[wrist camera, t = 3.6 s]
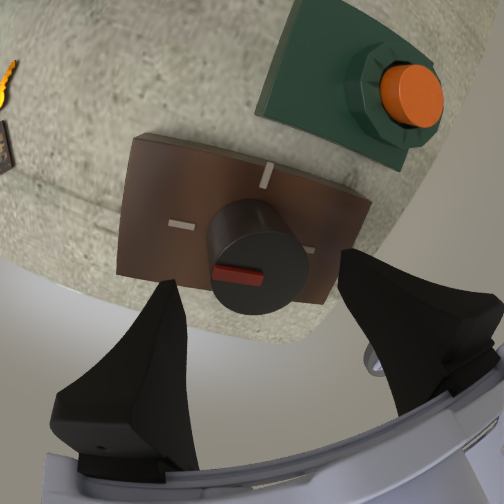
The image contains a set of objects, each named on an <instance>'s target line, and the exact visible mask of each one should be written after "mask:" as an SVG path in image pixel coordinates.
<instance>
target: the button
mask: <svg viewBox="0 0 504 504" xmlns="http://www.w3.org/2000/svg"><path fill="white" fill-rule="evenodd" d="M380 93H381V99H382V102H383V105H384V107H385V109H386V111H387V112H388V113H389V115H390V116H391V117H392V118H393V119H395V120H396V121H398V122H400V123H403V124H408V125H413V126H417V127H422V128H427V127H431V126H433V125H434V124H435V123H436V122H437V121H438V120H439V118H440V116H441V114H442V111H443V104H444V99H443V92H442V88H441V85H440V83H439V81H438V79H437V78H436V76H435V75H434V74H433V73H432V72H431V71H430V70H429V69H428V68H426V67H424V66H422V65H397V66H393V67H391V68H389V69H388V70H387V71H386V72H385V74H384V75H383V77H382V80H381V85H380Z"/></svg>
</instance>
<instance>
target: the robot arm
mask: <svg viewBox="0 0 504 504" xmlns="http://www.w3.org/2000/svg"><path fill="white" fill-rule="evenodd" d="M337 288H338V290H339V292H340V294H341V296H342V298H343V300H344V302H345V304H346V306H347V308H348V309H349V311H350V312H351V314H352V315H353V317H354V318H355V319H356V321H357V323H358V325H359V326H360V327H361V329H362V330H363V332H364V334H365V335H366V337H367V338H368V340H369V342H370V343H371V345H372V347H373V349H374V351H375V353H376V355H377V357H378V359H379V360H378V361H377V363H376V364H375V365H374V366H373V370H374V371H378V370H383V371H384V373H385V376H386V378H387V381H388V383H389V386H390V389H391V392H392V395H393V398H394V401H395V405H396V408H397V412H398V416H399V417H398V418H396V419H393V420H391V421H389V422H387V423H385V424H382V425H381V426H378V427H376V428H373V429H371V430H369V431H366V432H364V433H361V434H358V435H356V436H353V437H351V438H348V439H345V440H342V441H339V442H336V443H334V444H330V445H327V446H324V447H321V448H318V449H315V450H311V451H308V452H304V453H301V454H296V455H292V456H288V457H284V458H280V459H275V460H271V461H266V462H261V463H255V464H249V465H243V466H237V467H230V468H221V469H211V470H199V466H198V461H197V457H196V452H195V447H194V441H193V436H192V430H191V424H190V416H189V409H188V400H187V391H186V364H187V363H186V361H187V324H186V315H185V312H184V308H183V305H182V302H181V298H180V295H179V292H178V288H177V285H176V281H175V279H171V280H165V281H160V283H159V284H158V286H157V287H156V289H155V291H154V292H153V294H152V296H151V297H150V299H149V300H148V302H147V304H146V305H145V307H144V308H143V310H142V311H141V313H140V314H139V316H138V317H137V319H136V320H135V322H134V323H133V324H132V326H131V327H130V328H129V330H128V331H127V332H126V334H125V335H124V336H123V338H121V339H120V341H119V342H118V343H117V344H116V345H115V346H114V347H113V348H112V349H111V350H110V351H109V352H108V354H106V355H105V356H104V357H103V358H102V359H101V360H100V361H99V362H98V363H97V364H96V365H95V366H94V367H92V368H91V369H90V370H89V371H88V372H86V373H85V374H84V375H83V376H82V377H80V378H79V379H77V380H76V381H75V382H73V383H72V384H70V385H69V386H67V387H66V388H64V389H63V390H61V391H60V392H58V393H57V395H56V399H55V402H54V407H53V411H52V415H51V420H50V429H51V430H52V432H53V433H54V434H55V435H56V436H57V437H58V438H59V439H60V440H62V441H63V442H64V443H66V444H67V445H68V446H70V447H71V448H73V449H74V450H75V451H77V452H78V453H79V458H78V460H76V459H74V458H71V457H67V456H61V455H56V454H52V453H47V454H46V458H45V466H44V475H43V484H42V497H41V504H504V451H503V446H504V344H502V345H501V346H500V347H499V348H498V349H497V350H496V351H495V350H494V349H493V348H492V346H494V344H495V343H494V341H493V340H492V339H491V337H492V335H493V333H494V331H495V330H496V328H497V326H498V324H499V323H500V320H501V318H502V316H503V313H504V303H503V302H502V301H501V300H499V299H498V298H497V297H496V296H495V295H494V294H489V293H478V292H470V291H464V290H459V289H454V288H449V287H446V286H442V285H438V284H435V283H432V282H429V281H426V280H424V279H421V278H418V277H415V276H413V275H410V274H408V273H406V272H404V271H401V270H399V269H397V268H395V267H393V266H391V265H389V264H387V263H385V262H383V261H380V260H378V259H376V258H374V257H372V256H370V255H368V254H366V253H364V252H362V251H360V250H357V249H354V248H351V249H345V250H341V259H340V269H339V278H338V286H337ZM495 420H497V422H496V423H495V425H494V426H493V427H492V428H491V429H490V430H489V431H487V432H486V433H485V434H484V435H483V436H482V437H480V438H479V439H478V440H477V441H476V442H475V443H473V444H472V445H471V446H469V447H468V448H467V449H465V450H464V451H463V450H462V448H463V447H464V446H466V445H467V444H468V443H470V442H471V441H472V440H473V439H475V438H476V437H477V436H478V435H480V434H481V433H482V432H483V431H484V430H485V429H487V428H488V427H489V426H490V425H491V424H492V423H493V422H494V421H495ZM313 472H314V473H313ZM310 473H311V474H310ZM306 474H308V475H306ZM302 475H305V476H302ZM299 476H302V477H300V478H296V479H293V480H289V481H286V482H283V483H279V484H276V485H271V486H267V487H264V488H259V489H255V490H253V488H251V487H252V486H257V485H263V484H268V483H273V482H278V481H282V480H286V479H291V478H295V477H299Z"/></svg>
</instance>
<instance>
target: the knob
mask: <svg viewBox="0 0 504 504" xmlns="http://www.w3.org/2000/svg"><path fill="white" fill-rule="evenodd" d="M206 240H207V251H208V262H209V272H210V281H211V287H212V290H213V293H214V295H215V296H216V298H217V299H218V300H219V301H220V303H221V304H222V305H224V306H225V307H226V308H228V309H230V310H232V311H234V312H236V313H240V314H244V315H263V314H268V313H271V312H274V311H277V310H279V309H281V308H283V307H285V306H286V305H288V304H289V303H290V302H292V301H293V300H294V299H295V298H296V297H297V296H298V295H299V294H300V292H301V291H302V289H303V288H304V286H305V284H306V282H307V279H308V275H309V259H308V255H307V253H306V251H305V249H304V247H303V246H302V245H301V243H300V242H299V240H298V239H297V238H296V236H295V235H294V233H293V232H292V231H291V229H290V228H289V226H288V225H287V224H286V222H285V221H284V220H283V218H282V217H281V215H280V214H279V213H278V212H277V211H276V210H275V209H274V208H273V207H272V206H270V205H269V204H267V203H265V202H262V201H259V200H252V199H246V200H239V201H236V202H233V203H230V204H228V205H227V206H225V207H224V208H222V209H221V210H220V211H219V212H218V213H217V214H216V215H215V216H214V217H213V219H212V220H211V222H210V224H209V227H208V230H207V239H206Z"/></svg>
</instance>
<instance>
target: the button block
mask: <svg viewBox="0 0 504 504" xmlns="http://www.w3.org/2000/svg"><path fill="white" fill-rule="evenodd" d="M433 64H434V63H433V62H432V61H431V60H430V59H428V58H427V57H426V56H425V55H424V54H422V53H421V52H420V51H419V50H417V49H416V48H415V47H414V46H412V45H411V44H410V43H408V42H407V41H406V40H404V39H403V38H402V37H400V36H399V35H398V34H396V33H395V32H393V31H392V30H390V29H389V28H387V27H386V26H384V25H383V24H381V23H380V22H378V21H377V20H375V19H373V18H372V17H370V16H369V15H367V14H365V13H364V12H362V11H360V10H358V9H357V8H355V7H353V6H351V5H349V4H347V3H346V2H344V1H342V0H295V1H294V4H293V6H292V9H291V11H290V14H289V17H288V19H287V22H286V25H285V27H284V30H283V33H282V35H281V38H280V41H279V44H278V46H277V49H276V52H275V55H274V57H273V60H272V63H271V66H270V69H269V72H268V75H267V77H266V80H265V83H264V86H263V89H262V92H261V95H260V98H259V101H258V104H257V107H256V110H255V113H254V115H256V116H259V117H262V118H266V119H269V120H272V121H275V122H278V123H281V124H284V125H287V126H290V127H293V128H296V129H298V130H301V131H304V132H307V133H309V134H312V135H315V136H317V137H320V138H322V139H325V140H327V141H330V142H332V143H335V144H337V145H340V146H342V147H344V148H347V149H349V150H351V151H353V152H356V153H358V154H360V155H362V156H365V157H367V158H369V159H371V160H373V161H375V162H377V163H379V164H381V165H384V166H386V167H388V168H391V169H393V170H395V171H397V172H401V169H402V166H403V164H404V161H405V158H406V155H407V153H408V150H409V148H414V147H421V146H423V145H424V144H425V143H426V142H427V141H428V140H429V139H430V138H431V137H432V136H433V135H434V134H435V133H436V132H437V130H438V127H439V124H440V120H441V117H442V114H441V116H440V118H439V120H438V121H437V122H436V123H435V124H434V125H433V126H431V127H427V128H422V127H417V126H413V125H408V124H403V123H400V122H398V121H396V120H395V119H393V118H392V117H391V116H390V115H389V113H388V112H387V111H386V109H385V107H384V105H383V102H382V99H381V93H380V85H381V80H382V77H383V75H384V74H385V72H386V71H387V70H388V69H389V68H391V67H393V66H397V65H422V66H424V67H426V68H428V69H429V70H430V71H431V72H432V73H433V74H434V75H435V76H436V78H437V79H438V81H439V83H440V85H441V82H440V80H439V78H438V76H437V74H436V72H435V70H434V68H433ZM443 108H444V106H443ZM443 110H444V109H443ZM442 113H443V111H442Z"/></svg>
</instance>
